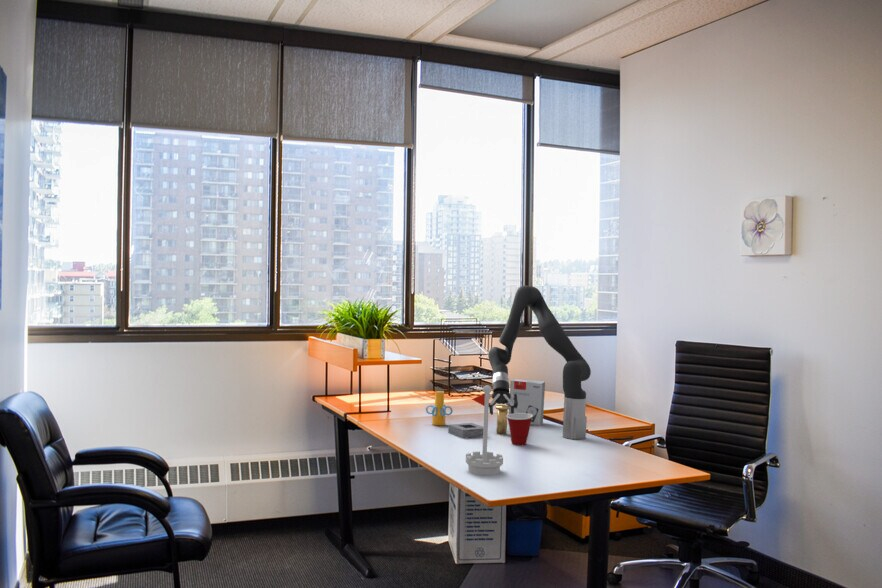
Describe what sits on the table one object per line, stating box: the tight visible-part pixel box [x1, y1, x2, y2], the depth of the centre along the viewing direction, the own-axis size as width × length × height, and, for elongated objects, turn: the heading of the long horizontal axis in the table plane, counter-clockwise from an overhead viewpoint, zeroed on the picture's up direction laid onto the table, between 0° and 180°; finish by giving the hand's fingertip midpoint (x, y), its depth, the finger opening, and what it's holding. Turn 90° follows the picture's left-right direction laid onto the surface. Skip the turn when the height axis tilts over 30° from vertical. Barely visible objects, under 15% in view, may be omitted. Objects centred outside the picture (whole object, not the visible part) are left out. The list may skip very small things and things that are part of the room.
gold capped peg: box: [495, 404, 509, 436], centre depth 320 cm, size 6×6×12 cm
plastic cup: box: [506, 413, 533, 446], centre depth 301 cm, size 11×11×12 cm
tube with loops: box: [425, 390, 453, 426], centre depth 335 cm, size 12×10×15 cm
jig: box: [447, 422, 484, 439], centre depth 316 cm, size 12×12×4 cm
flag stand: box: [465, 384, 504, 476], centre depth 256 cm, size 13×13×30 cm
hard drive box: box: [508, 378, 546, 426], centre depth 348 cm, size 16×8×20 cm, turn 71°
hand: (501, 414), depth 322 cm, fingers open, 8 cm apart
